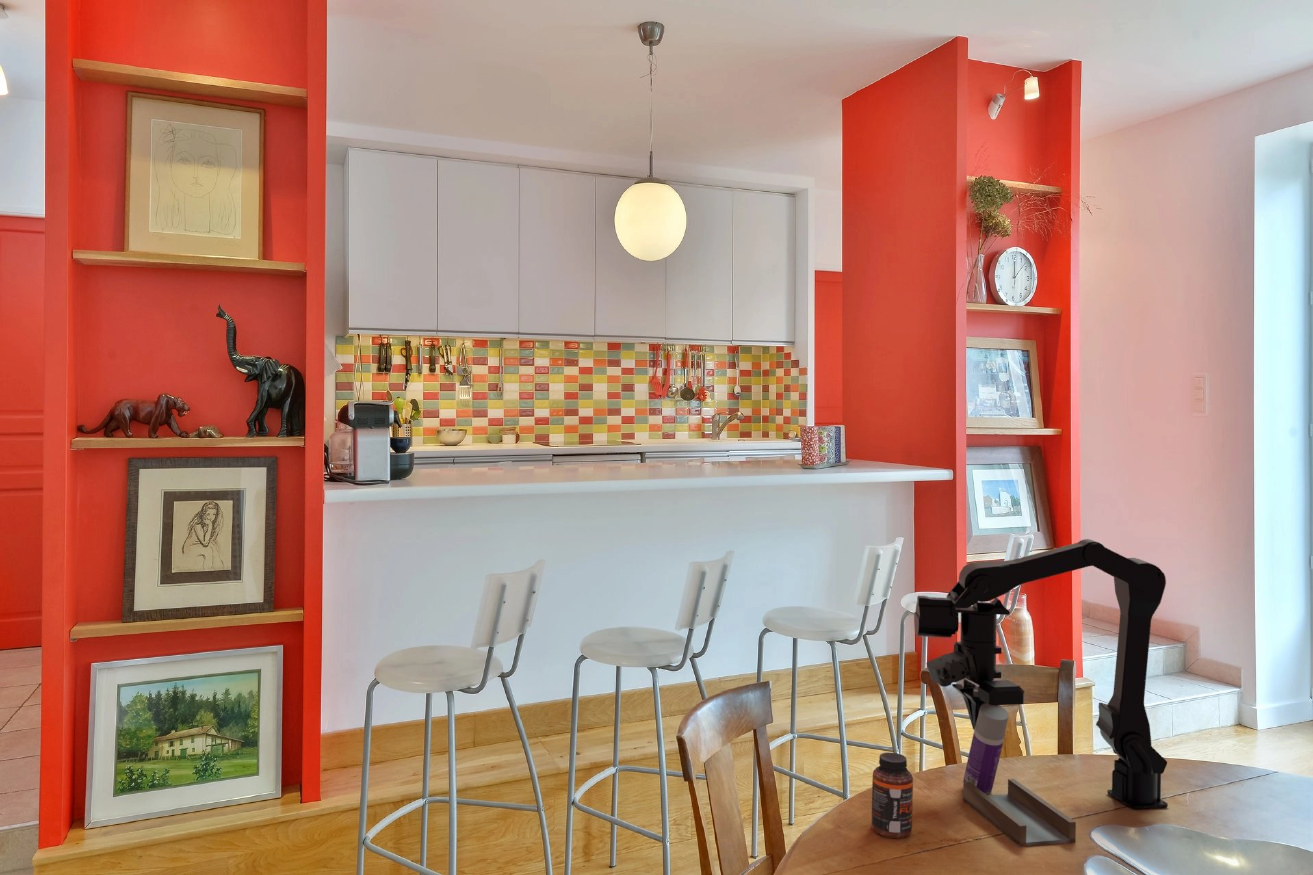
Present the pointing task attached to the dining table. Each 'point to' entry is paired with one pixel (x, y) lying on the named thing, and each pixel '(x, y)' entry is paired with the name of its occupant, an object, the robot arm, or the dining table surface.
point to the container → (986, 747)
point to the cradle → (1022, 815)
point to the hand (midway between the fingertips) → (977, 730)
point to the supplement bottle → (892, 797)
